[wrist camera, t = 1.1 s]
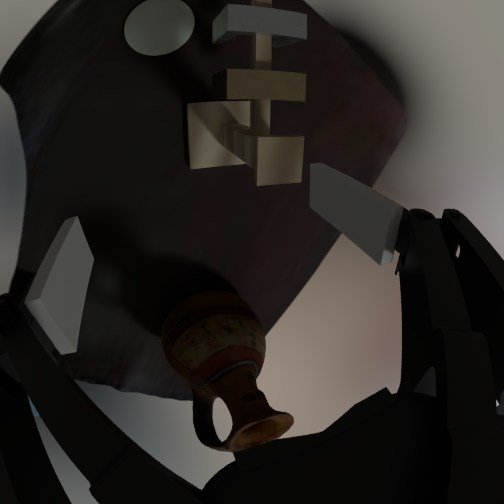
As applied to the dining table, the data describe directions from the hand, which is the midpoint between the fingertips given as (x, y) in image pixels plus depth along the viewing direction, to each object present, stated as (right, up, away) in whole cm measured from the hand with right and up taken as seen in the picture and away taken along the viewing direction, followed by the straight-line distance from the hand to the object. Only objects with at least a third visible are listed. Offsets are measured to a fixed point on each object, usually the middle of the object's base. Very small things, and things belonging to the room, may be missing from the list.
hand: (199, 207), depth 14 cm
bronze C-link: (+2, +17, +14) cm, 22 cm away
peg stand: (-1, +21, +22) cm, 30 cm away
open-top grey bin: (+2, +23, +10) cm, 25 cm away
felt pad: (-10, +29, +13) cm, 34 cm away
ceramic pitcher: (-7, -16, +43) cm, 47 cm away
